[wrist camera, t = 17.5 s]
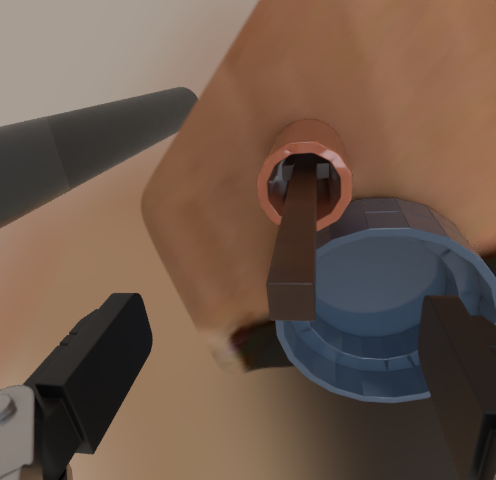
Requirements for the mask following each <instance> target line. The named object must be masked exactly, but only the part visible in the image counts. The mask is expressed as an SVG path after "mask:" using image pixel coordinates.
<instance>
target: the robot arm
mask: <svg viewBox="0 0 496 480" xmlns="http://www.w3.org/2000/svg"><path fill="white" fill-rule="evenodd" d="M151 348H152V332H151V328H150V324H149V321H148V317H147V313H146V310H145V306H144V302H143V299H142V297H141V295H140V294H138V293H113V294H111V295H110V296H109V298H108V299H107V300H106V301H105V302H104V303H103V305H102V306H101V307H100V308H99V309H96V310H94V311H93V312H91V313H90V314H89V315H87V316H86V317H84V318H83V319H81V320H80V321H79V322H78V323H77V324H76V326H75V327H74V328H73V329H72V330H71V331H70V332H69V335H67V336H66V337H65V338H64V339H63V340H62V341H61V342H60V346H57V347H56V348H55V349H54V350H53V351H52V352H51V354H50V355H49V356H48V357H47V358H46V359H45V360H44V361H43V362H42V364H41V365H40V366H39V367H38V368H37V369H36V371H34V373H33V374H32V375H31V376H30V377H29V378H28V379H27V380H26V382H25V383H24V384H23V385H15V386H11V387H7V388H4V389H1V390H0V480H73V478H72V469H71V467H70V465H69V462H70V460H71V459H72V457H73V455H74V453H84V454H94V453H95V451H96V449H97V447H98V445H99V444H100V442H101V440H102V438H103V436H104V435H105V433H106V431H107V429H108V428H109V426H110V424H111V422H112V420H113V418H114V417H115V415H116V413H117V411H118V410H119V408H120V406H121V404H122V402H123V401H124V399H125V397H126V395H127V393H128V392H129V390H130V388H131V386H132V384H133V383H134V381H135V379H136V377H137V376H138V374H139V372H140V370H141V368H142V367H143V365H144V363H145V361H146V359H147V357H148V356H149V354H150V351H151ZM418 356H419V361H420V365H421V368H422V371H423V374H424V377H425V380H426V383H427V386H428V389H429V392H430V395H431V397H432V401H433V403H434V406H435V409H436V412H437V415H438V418H439V421H440V424H441V427H442V430H443V432H444V436H445V439H446V442H447V444H448V447H449V450H450V453H451V456H452V459H453V462H454V465H455V467H456V471H457V474H458V477H459V479H460V480H496V325H494V324H493V323H492V322H490V321H489V320H488V319H486V318H485V317H484V316H470V314H469V312H468V311H467V309H466V307H465V306H464V304H463V302H462V301H461V299H460V298H459V297H458V296H454V295H426V296H425V297H424V299H423V304H422V312H421V320H420V329H419V337H418Z"/></svg>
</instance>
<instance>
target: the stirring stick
mask: <svg viewBox="0 0 496 480" xmlns="http://www.w3.org/2000/svg"><path fill="white" fill-rule="evenodd" d="M282 177H283V181H286V180H290V183H289V188H288V192H287V196H286V201H285V205H284V209H283V214H282V218H281V222H280V227H279V231H278V236H277V240H276V244H275V249H274V253H273V257H272V262H271V266H270V270H269V275H268V279H267V283H266V286H267V296H268V305H269V315H270V319H271V320H272V321H315V318H316V237H317V179H322V178H330V161H328V160H326V159H324V158H322V157H320V156H318V155H316V154H314V153H301V154H291V155H290V156H288V157H287V158H285V159H284V161H283V164H282Z"/></svg>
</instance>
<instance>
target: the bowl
mask: <svg viewBox="0 0 496 480" xmlns="http://www.w3.org/2000/svg"><path fill="white" fill-rule="evenodd" d="M426 295H454V296H458V297H459V298H460V299H461V301H462V302H463V304H464V306H465V307H466V309H467V311H468V312H469V314H470V316H484V317H485V318H486V319H488V320H489V321H490V322H492V323H493V324H494V325H496V277H495V276H494V274H493V273H492V272H491V270H490V269H489V268H488V266H487V265H486V263H485V262H484V261H483V259H482V258H481V257H480V256H479V254H478V253H477V252H476V251H475V249H474V248H473V247H472V246H471V244H470V243H469V242H468V241H467V239H466V238H465V237H464V236H463V234H462V233H461V232H460V231H459V229H458V228H457V227H456V226H455V224H454V223H453V222H451V221H450V220H448V219H447V218H445V217H443V216H442V215H440V214H439V213H437V212H436V211H434V210H432V209H431V208H429V207H428V206H425V205H421V204H417V203H413V202H409V201H405V200H401V199H397V198H374V199H359V200H356V201H353V202H350V203H349V204H348V206H347V208H346V209H345V211H344V212H343V214H342V216H341V217H340V219H338V220H337V221H336V222H334V223H332V224H330V225H328V226H326V227H325V228H323V229H321V230H319V231H317V237H316V318H315V321H275V322H276V332H277V337H278V339H279V341H280V343H281V345H282V347H283V349H284V351H285V353H286V355H287V357H288V359H289V360H290V361H291V362H292V363H293V364H294V365H295V366H296V367H297V368H298V369H299V370H300V371H301V372H302V373H303V374H304V375H305V376H306V377H307V378H308V379H309V380H311V381H313V382H315V383H317V384H318V385H320V386H322V387H324V388H325V389H327V390H329V391H331V392H333V393H336V394H339V395H343V396H346V397H350V398H353V399H357V400H360V401H369V402H384V403H398V402H405V401H411V400H418V399H425V398H428V397H431V395H430V392H429V389H428V386H427V383H426V380H425V377H424V374H423V371H422V368H421V365H420V361H419V356H418V337H419V329H420V320H421V312H422V304H423V299H424V297H425V296H426Z"/></svg>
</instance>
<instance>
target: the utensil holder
mask: <svg viewBox="0 0 496 480" xmlns="http://www.w3.org/2000/svg"><path fill="white" fill-rule="evenodd" d="M301 153H314V154H316V155H318V156H320V157H322V158H324V159H326V160H328V161H330V178H322V179H317V231H319V230H321V229H323V228H325V227H326V226H328V225H330V224H332V223H334V222H336V221H337V220H338V219H340V217H341V216H342V214H343V212H344V211H345V209H346V208H347V206H348V204H349V203H350V201H351V199H352V173H351V169H350V165H349V162H348V158H347V155H346V151H345V148H344V144H343V143H342V141H341V139H340V137H339V135H338V134H337V132H336V131H335V130H334V129H333V128H332V127H331V126H329V125H328V124H326V123H324V122H322V121H319V120H315V119H304V120H299V121H296V122H294V123H292V124H290V125H288V126H287V127H286V128H285V129H284V130H283V131H281V132H280V133H279V135H278V136H277V138H276V140H275V142H274V144H273V146H272V148H271V150H270V152H269V154H268V156H267V158H266V160H265V162H264V164H263V167H262V169H261V171H260V173H259V175H258V177H257V181H256V182H257V192H258V201H259V204H260V206H261V207H262V208H263V210H264V211H265V212H266V214H267V215H268V217H269V218H270V219H271V221H273V222H274V223H276V224H278V225H280V222H281V218H282V214H283V209H284V205H285V201H286V196H287V192H288V188H289V183H290V180H286V181H283V177H282V164H283V161H284V159H285V158H287V157H288V156H290V155H291V154H301Z"/></svg>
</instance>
